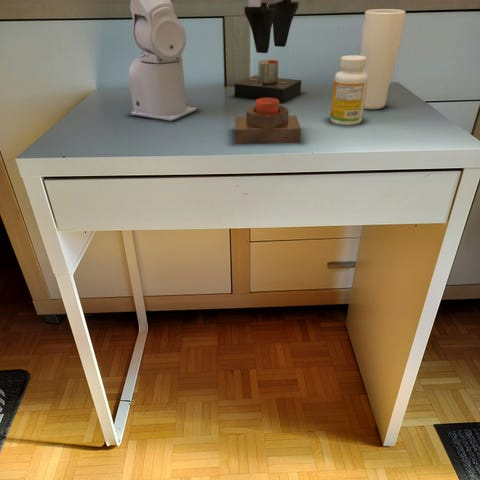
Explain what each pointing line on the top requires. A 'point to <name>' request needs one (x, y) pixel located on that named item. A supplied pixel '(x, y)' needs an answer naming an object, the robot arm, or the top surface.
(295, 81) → the dial panel
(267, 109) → the button
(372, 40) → the tall cream tumbler
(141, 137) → the top surface
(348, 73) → the supplement bottle
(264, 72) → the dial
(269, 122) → the button block
